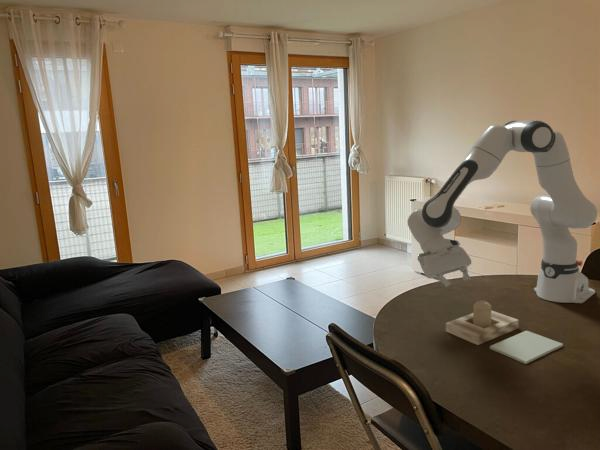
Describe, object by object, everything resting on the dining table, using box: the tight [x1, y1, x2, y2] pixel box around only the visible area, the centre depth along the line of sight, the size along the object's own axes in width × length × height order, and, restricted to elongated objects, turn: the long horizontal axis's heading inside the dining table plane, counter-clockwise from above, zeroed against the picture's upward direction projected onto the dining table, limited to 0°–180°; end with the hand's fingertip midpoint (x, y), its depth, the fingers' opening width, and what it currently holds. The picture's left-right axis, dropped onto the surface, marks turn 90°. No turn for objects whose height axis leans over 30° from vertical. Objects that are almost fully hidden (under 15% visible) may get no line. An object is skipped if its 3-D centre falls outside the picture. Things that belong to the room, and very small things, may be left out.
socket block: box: [445, 309, 520, 346], centre depth 155 cm, size 20×13×3 cm, turn 120°
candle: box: [472, 299, 492, 328], centre depth 154 cm, size 6×6×10 cm
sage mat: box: [489, 330, 564, 365], centre depth 141 cm, size 18×12×1 cm, turn 120°
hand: (458, 282), depth 161 cm, fingers open, 8 cm apart
